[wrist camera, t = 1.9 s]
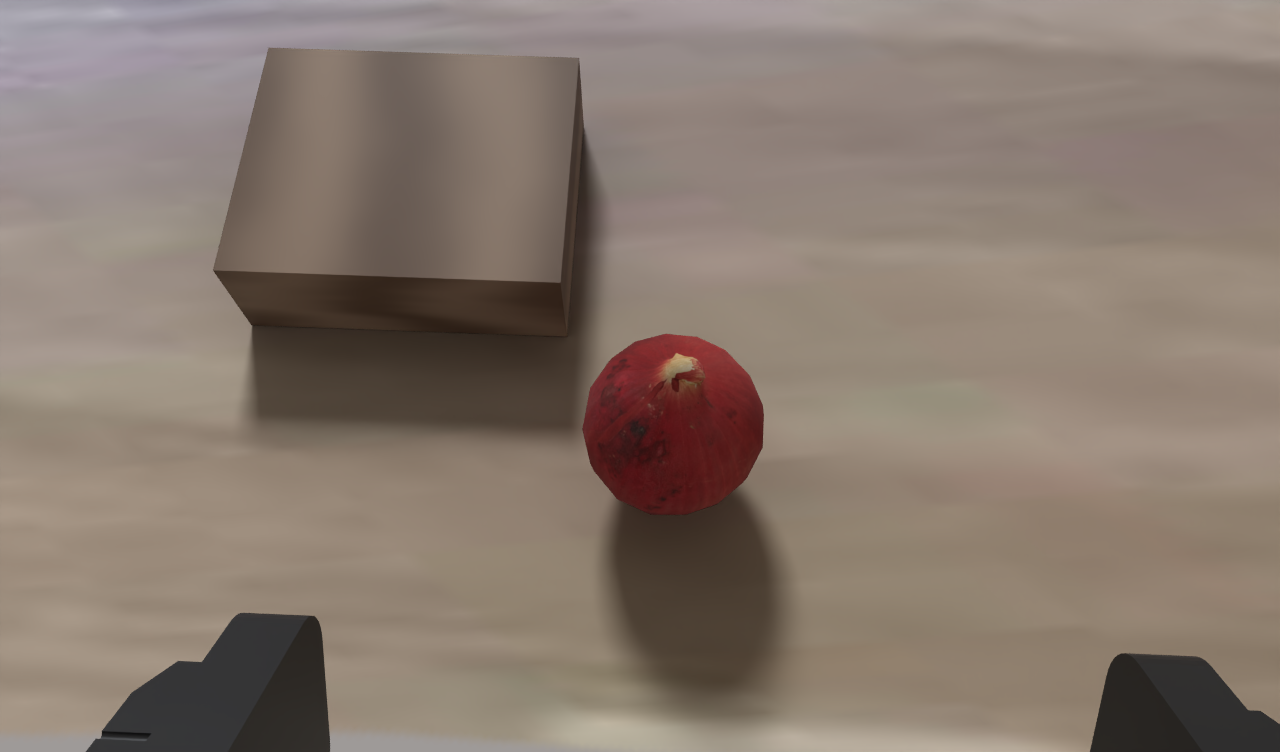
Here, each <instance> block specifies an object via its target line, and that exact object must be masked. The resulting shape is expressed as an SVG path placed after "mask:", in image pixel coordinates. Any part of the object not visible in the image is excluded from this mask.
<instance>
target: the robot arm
mask: <svg viewBox="0 0 1280 752" xmlns="http://www.w3.org/2000/svg"><path fill="white" fill-rule="evenodd" d="M86 752H330V736H329V722H328V708H327V695H326V681H325V668H324V654H323V641H322V632H321V627H320V624H319V621H318V620H317V618H316V617H315V616H303V615H280V614H257V613H240V614H238V615H236V616H235V617H234V618H233V619H232V620H231V622H230V623H229V625H228V626H227V627H226V629H225V630H224V632H223V633H222V634H221V636H220V637H219V639H218V640H217V641H216V643H215V644H214V646H213V647H212V649H211V650H210V651H209V653H208V654H207V656H206V657H205V658H204V660H203V661H202V662H187V661H178V662H176V663H175V664H173V665H172V666H170V667H169V668H167V669H166V670H164V671H163V672H161V673H160V674H159V675H157V676H156V677H154V678H153V679H151V680H150V681H148V682H147V683H145V684H144V685H142V686H141V687H139V688H138V689H137V690H135V691H134V692H132V693H131V694H130V696H129V697H128V698H127V700H126V701H125V702H124V703H123V705H122V706H121V707H120V709H119V710H118V711H117V712H116V714H115V715H114V716H113V718H112V719H111V720H110V721H109V723H108V724H107V725H106V727H105V728H104V729H103V730H102V736H101V739H95V741H94V742H93V743H92V745H91V746H90V747H89V748H88V750H87V751H86ZM1090 752H1280V724H1278V723H1277V722H1276V721H1274V720H1273V719H1271V718H1270V717H1268V716H1267V715H1265V714H1264V713H1263V712H1261V711H1249V710H1247V709H1246V707H1245V706H1244V705H1243V704H1242V703H1241V701H1240V700H1239V699H1238V698H1237V697H1236V695H1235V694H1234V693H1233V692H1232V691H1231V689H1230V688H1229V687H1228V686H1227V685H1226V683H1225V682H1224V681H1223V680H1222V679H1221V678H1220V676H1219V675H1218V674H1217V673H1216V672H1215V670H1214V669H1213V668H1212V667H1211V666H1210V665H1209V664H1208V663H1207V662H1206V661H1205V660H1203V659H1202V658H1199V657H1195V656H1172V655H1149V654H1126V653H1124V654H1119V655H1117V656H1116V657H1115V658H1114V659H1113V661H1112V662H1111V664H1110V667H1109V669H1108V673H1107V676H1106V681H1105V686H1104V690H1103V695H1102V699H1101V704H1100V708H1099V713H1098V718H1097V722H1096V727H1095V731H1094V736H1093V741H1092V745H1091V750H1090Z"/></svg>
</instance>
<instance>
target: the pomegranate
mask: <svg viewBox="0 0 1280 752" xmlns="http://www.w3.org/2000/svg"><path fill="white" fill-rule="evenodd" d="M763 421H764V413H763V405H762V402H761V400H760V398H759V396H758V393H757V391H756V389H755V386H754V384H753V382H752V379H751V377H750V375H749V374H748V373H747V372H746V371H745V370H744V369H743V368H742V367H741V366H740V365H739V364H738V363H737V362H736V361H735V360H734V359H733V358H732V357H731V356H730V354H729V353H728V352H727V351H726V350H724V349H722V348H720V347H718V346H715V345H713V344H711V343H709V342H707V341H705V340H702V339H700V338H698V337H692V336H681V335H672V334H663V335H659V336H656V337H652V338H648V339H644V340H640V341H636V342H634V343H633V344H631V345H630V346H628V347H627V348H626V349H624V350H623V351H621V352H620V353H619V354H617V355H616V356H614V357H613V358H612V359H611V360H610V361H609V362H608V364H607V365H606V367H605V368H604V369H603V371H602V372H601V374H600V375H599V376H598V378H597V379H596V381H595V382H594V384H593V385H592V386H591V388H590V392H589V397H588V403H587V408H586V413H585V418H584V424H583V433H584V438H585V442H586V447H587V451H588V455H589V460H590V464H591V466H592V468H593V470H594V472H595V473H596V474H597V475H598V476H599V478H600V479H601V480H602V481H603V482H604V484H605V485H606V486H607V487H608V488H609V490H610V491H611V492H612V493H613V495H614V496H615V497H616V498H617V499H618V500H620V501H622V502H625V503H627V504H629V505H631V506H633V507H635V508H638V509H640V510H642V511H644V512H646V513H648V514H650V515H686V514H689V513H692V512H695V511H698V510H701V509H704V508H707V507H710V506H713V505H716V504H718V503H719V502H720V501H722V500H723V499H724V498H725V497H726V496H727V495H729V494H730V493H731V492H732V491H733V490H735V489H736V488H737V487H738V486H739V485H741V484H742V483H743V481H744V480H745V479H746V478H747V477H748V475H749V473H750V471H751V469H752V467H753V465H754V463H755V461H756V459H757V457H758V455H759V453H760V451H761V449H762V447H763Z"/></svg>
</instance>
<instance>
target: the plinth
mask: <svg viewBox="0 0 1280 752" xmlns="http://www.w3.org/2000/svg"><path fill="white" fill-rule="evenodd" d="M583 127H584V123H583V109H582V94H581V80H580V65H579V58H564V57H534V56H503V55H473V54H443V53H412V52H382V51H351V50H321V49H291V48H268V52H267V56H266V60H265V64H264V68H263V72H262V76H261V80H260V84H259V88H258V92H257V96H256V100H255V104H254V108H253V112H252V116H251V120H250V124H249V128H248V132H247V136H246V140H245V144H244V148H243V152H242V156H241V160H240V164H239V168H238V172H237V176H236V180H235V184H234V188H233V192H232V196H231V200H230V204H229V208H228V212H227V216H226V220H225V224H224V228H223V232H222V236H221V240H220V245H219V249H218V253H217V257H216V261H215V265H214V269H213V271H214V272H215V274H216V275H217V277H218V278H219V279H220V281H221V282H222V284H223V285H224V287H225V288H226V289H227V291H228V292H229V294H230V295H231V297H232V298H233V299H234V301H235V302H236V304H237V305H238V307H239V308H240V309H241V311H242V312H243V314H244V315H245V316H246V318H247V319H248V321H249V322H250V324H251V325H260V326H288V327H315V328H343V329H370V330H398V331H425V332H453V333H481V334H508V335H536V336H563V337H567V334H568V321H569V308H570V295H571V282H572V269H573V256H574V243H575V231H576V218H577V205H578V192H579V179H580V166H581V153H582V140H583Z"/></svg>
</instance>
